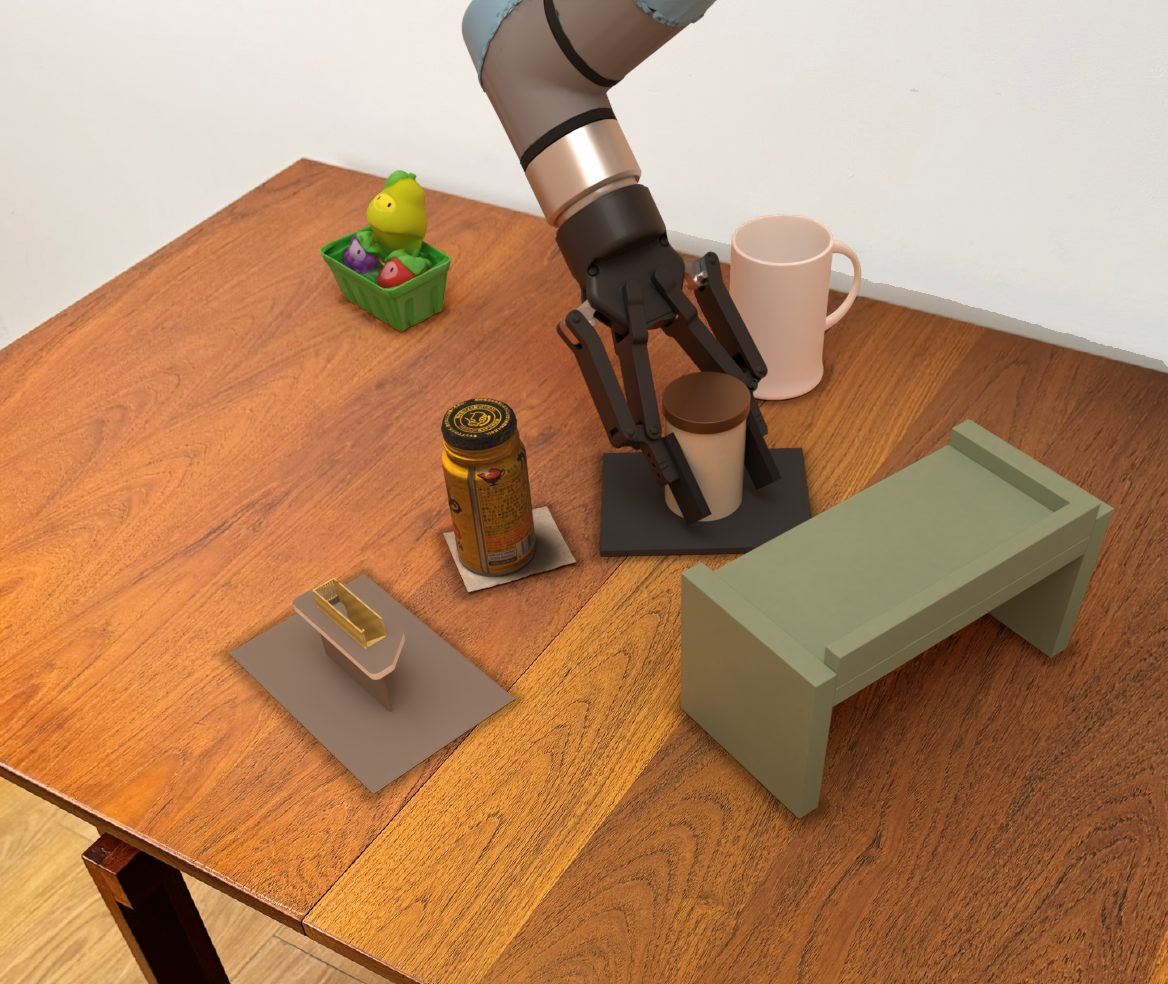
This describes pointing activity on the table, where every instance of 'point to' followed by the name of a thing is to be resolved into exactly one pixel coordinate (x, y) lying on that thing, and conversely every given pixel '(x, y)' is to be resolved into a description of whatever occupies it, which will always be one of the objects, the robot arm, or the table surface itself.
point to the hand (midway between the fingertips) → (734, 501)
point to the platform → (369, 679)
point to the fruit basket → (392, 258)
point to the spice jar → (709, 436)
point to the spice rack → (879, 597)
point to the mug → (787, 297)
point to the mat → (651, 528)
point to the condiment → (494, 499)
